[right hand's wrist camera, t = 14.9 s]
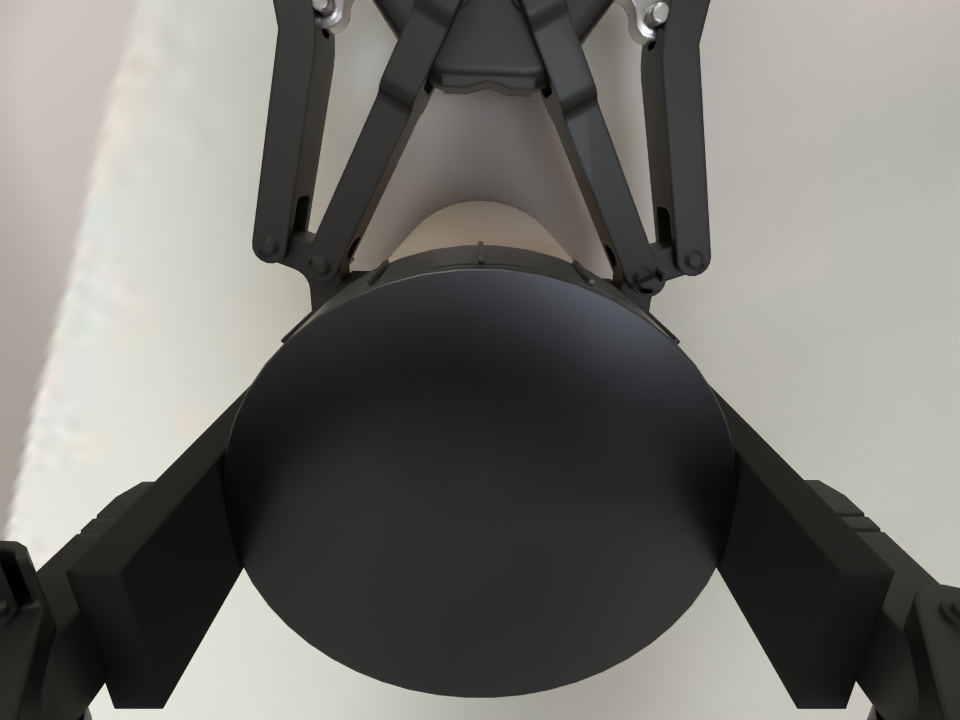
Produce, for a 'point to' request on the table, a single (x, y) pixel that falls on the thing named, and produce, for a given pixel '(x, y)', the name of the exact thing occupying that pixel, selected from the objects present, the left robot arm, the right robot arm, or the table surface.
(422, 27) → the left robot arm
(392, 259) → the jar
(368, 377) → the lid
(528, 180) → the table surface
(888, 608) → the right robot arm
